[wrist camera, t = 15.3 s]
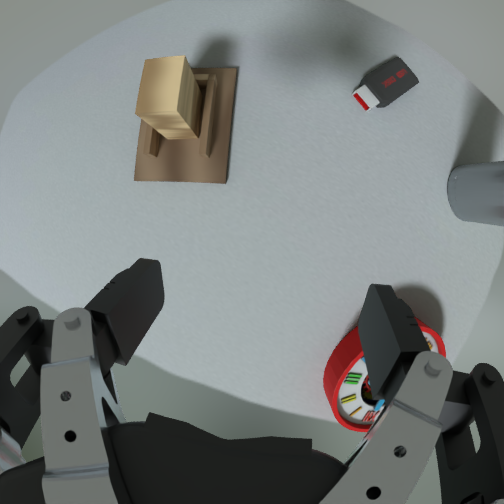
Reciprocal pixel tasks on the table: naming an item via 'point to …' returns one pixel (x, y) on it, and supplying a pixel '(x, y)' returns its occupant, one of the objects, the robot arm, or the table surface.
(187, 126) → the oak plank
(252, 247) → the table surface
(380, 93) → the usb drive
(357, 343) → the toy clock
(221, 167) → the groove board
